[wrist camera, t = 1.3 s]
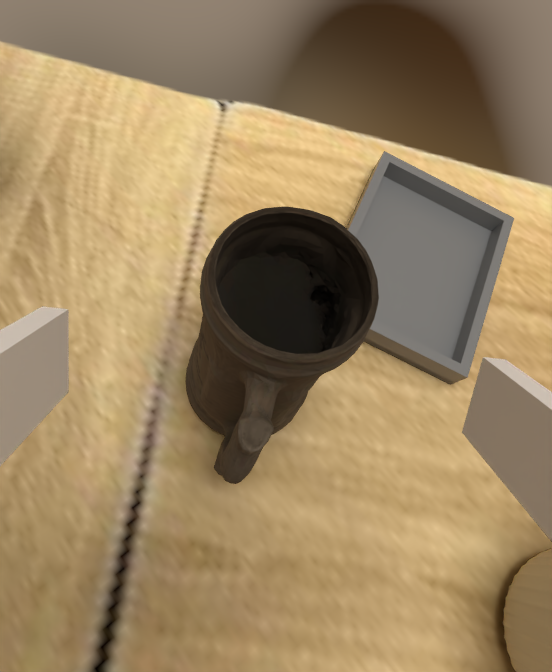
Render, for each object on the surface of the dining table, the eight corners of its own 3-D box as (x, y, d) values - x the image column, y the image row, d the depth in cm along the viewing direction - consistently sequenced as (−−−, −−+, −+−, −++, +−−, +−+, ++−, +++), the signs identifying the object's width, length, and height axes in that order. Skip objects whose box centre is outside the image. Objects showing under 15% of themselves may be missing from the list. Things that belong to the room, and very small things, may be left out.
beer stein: (194, 312, 44) (205, 181, 26) (305, 327, 46) (390, 214, 28) (171, 482, 39) (164, 473, 21) (296, 492, 41) (393, 491, 22)
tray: (307, 313, 47) (315, 301, 44) (373, 168, 54) (384, 151, 51) (450, 384, 47) (467, 377, 44) (496, 232, 54) (514, 218, 52)
